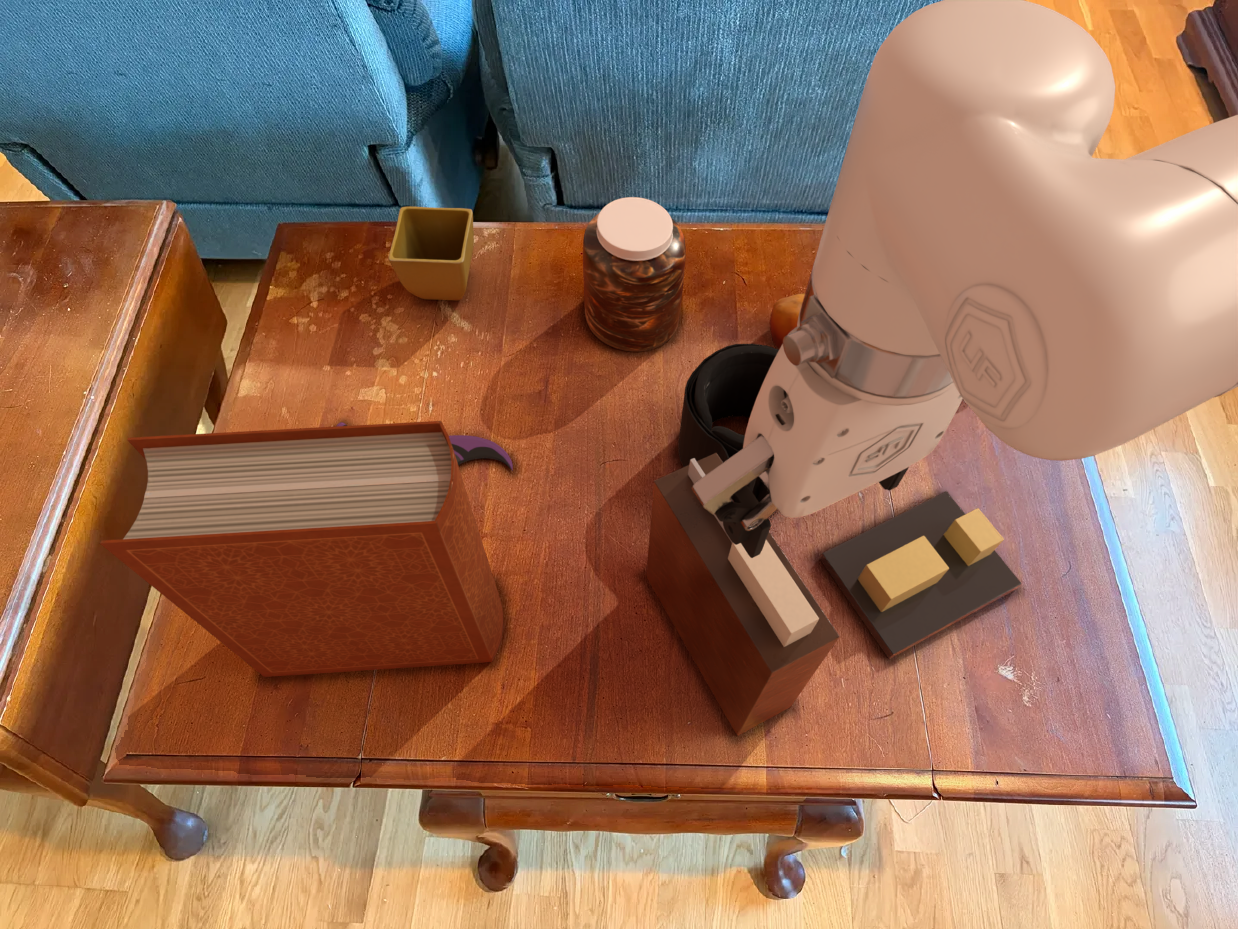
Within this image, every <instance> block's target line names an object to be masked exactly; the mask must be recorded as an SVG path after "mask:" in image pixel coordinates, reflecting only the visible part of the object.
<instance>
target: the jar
mask: <svg viewBox="0 0 1238 929" xmlns="http://www.w3.org/2000/svg"><path fill="white" fill-rule="evenodd" d="M686 249H687V248H686V239H685V235H684V232H683V230H682V229H681V227H680V225H679V224H678V223H677V222H676V220H674V218H673V217H671V215H670V213H669V212H668V210H666V209H665V208H664V207H663V206H662V205H660V204H658V203H657V202H655V201H653V200H651V199H648V198H645V197H638V196H637V197H636V196H630V197H628V196H627V197H621V198H618V199H615V200H613V201H611V202H609V203H607V204H606V205H605V206H603V207H602V209H601V210H600V212H598V213H597V214H595V216H594V217H593V218H592V219H591V220H590V221H589V222H588V224H587V226H586V228H585V230H584V233H583V238H582V276H583V277H582V278H583V299H584V300H583V301H584V314H585V315H584V316H585V321H586V323H587V326H588V328H589V330H590V331H591V333H592V334H593V335H594V336H595V337H596V339H598V340H599V341H601V342H602V343H604V344H605V345H607V346H609V347H611V348H613V349H615V350H619V351H623V352H632V353H633V352H647V351H651V350H654V349H656V348H658V347H661V346H662V345H664V344H666V343H667V342H668V341H670V339H671V338H672V337H673V336H674V335H675V333H676V332H677V330H678V327H679V324H680V318H681V312H682V303H683V302H682V301H683V290H684V281H685V269H686V251H687V250H686Z"/></svg>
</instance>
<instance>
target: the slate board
mask: <svg viewBox="0 0 1238 929" xmlns="http://www.w3.org/2000/svg"><path fill="white" fill-rule="evenodd" d="M965 514H966V513H965V512H964V510H963V509H962V508H961V507H960V505H958V503H957V501H955V499H954V498H953V497H952V496H951V494H950V493H949V492H948V491H947V490H946V491H943V492H942V493H940V494H939V493H938V494H937V495H935V496H933V497H931V498H929V499H927V500H925V501H923V502H922V503H919V504H917V505H915V506H913V507H912V508H909V509H907V510H906V511H903V512H902V513H899V514H897V515H896V516H894V517H892V518H890V519H888V520H885V521H884V522H883V521H882V523H879V524H877V525H875V526H873V527H871V528H870V529H868V530H865V531H863V532H862V533H859V534H857V535H856V536H854V537H852V538H850V539H848V540H845V541H844V542H841V543H839V544H837V545H836V546H834V547H832V548H829V549H827V550H825V551H824V552H822V554H821V555H820V557H819V560H820V562H821V563H822V565H823V566H824V568H825V569H826V571H827V572H828V573H829V575H830V576H831V578H832V579H833V581H834V582H835V584H836V585H837V586H838V588H839V589H840V592H842V594H843V595H844V597H845V598H846V599H847V601H848V602H849V604H850V605H851V607H852V608H853V609H854V611H855V612H856V613H857V615H858V617H859V618H860V620H861V621H862V622H863V624H864V626H865V627H866V629H867V630H868V632H870V634H871V635H872V637H873V639H875V641H876V642H877V645H879V648H881V650H882V652H883V653H884V654H885V656H886V657H887V658H888V659H889V660H891V659H892V658H894V657H895V656H898V655H900V654H901V653H904V651H907V650H909V649H910V648H912V647H914V646H916V645H918V644H919V643H921V642H923V641H925V640H926V639H928V638H930V637H932V636H934V635H936V634H938V633H940V632H941V631H943V630H945V629H947V628H948V627H950V626H952V625H954V624H956V623H957V622H959V621H961V620H963V619H965V618H966V617H968V616H970V615H972V614H974V613H976V612H978V611H980V610H981V609H983V608H985V607H986V606H988V605H990V604H992V603H994V602H996V601H998V600H1000V599H1001V598H1003V597H1005V596H1007V595H1008V594H1010V593H1012V592H1014V591H1016V590H1017V589H1018V588H1020V587H1021V585H1022V582H1021V581H1020V579H1019V578H1018V577H1017V576H1016V574H1015V573H1014V572H1013V571H1012V570H1011V568H1010V567H1009V566H1008V565H1007V564H1006V562H1005V561H1004V560H1003V558H1002V557H1001V556H1000V554H999V553H998V552H997V551H996V549H995V550H994V551H993V552H992V553H991V554H990V555H988V556H986V557H984V558H983V559H981V560H979V561H977V562H975V563H973V564H971V565H969V566H968V565H967V564H966V563H965V562H964V560H963V559H962V558H961V557H960V555H959V554H958V553H957V551H956V550H955V549H954V548H953V546H952V545H951V544H950V543H949V541H948V540H947V539H946V538H945V536H944V533H945V532H946V531H947V530H948V528H949V527H950V526H951V524H952V523H953V522H954V520H955V519H957V518H959V517H961V516H963V515H965ZM922 536H925V537H926V539H927V540H928V541H929V543H930V544H931V545H932V547H933V548H934V549H935V550H936V552H937V553H938V554H939V556H940V557H941V558H942V559H943V561H944V562H945V563H946V565H947V566H948V567H949V569H948V571H947V572H946V573H945V574H944V575H943V576H942V578H941V579H940V580H939V581H938V582H937V583H935V584H933V585H932V586H930V587H928V588H926V589H924V590H922V591H920V592H918V593H917V594H915V595H913V596H911V597H909V598H907V599H905V600H903V601H902V602H900V603H898V604H896V605H894V606H892V607H890V608H888V609H887V610H885V611H883V612H881V611H880V610H879V609H878V607H877V606H876V604H875V603H874V602H873V600H872V599H871V597H870V596H869V594H868V593H867V592H866V590H865V589H864V587H863V586H862V585H861V583H860V582H859V580H858V577H859V576H860V574H861V573H862V571H863V570H864V568H865V567H866V565H867V564H869V563H871V562H873V561H875V560H877V559H879V558H881V557H883V556H885V555H887V554H889V553H891V552H893V551H895V550H897V549H898V548H900V547H902V546H904V545H906V544H908V543H910V542H912V541H914V540H916V539H918V538H920V537H922Z"/></svg>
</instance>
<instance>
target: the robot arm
mask: <svg viewBox="0 0 1238 929" xmlns="http://www.w3.org/2000/svg"><path fill="white" fill-rule="evenodd" d="M1115 96H1116V82H1115V77H1114V73H1113V67H1112V64H1111V62H1110V60H1109V58H1108V56H1107V54H1106V53H1105V51H1104V49H1102V47H1101V46H1100V44H1099V43H1098V42H1097V41H1096V39H1095V38H1094V37H1093V36H1092V35H1091V34H1090V33H1089V32H1088V31H1087V30H1085V29H1084V27H1082V26H1081V25H1080V24H1078V23H1077V22H1075V21H1074V20H1072V19H1071V18H1069V17H1068V16H1066V15H1064V14H1062V13H1060V12H1058V11H1056V10H1054V9H1052V8H1050V7H1046V6H1044V5H1041V4H1039V3H1035V2H1031V1H1028V0H940V1H937V2H934V3H930V4H927V5H925V6H923V7H922V8H919V9H917V10H916V11H913V12H912V13H911V14H910V15H908V16H907V17H906V18H904V20H902V21H901V22H900V23H898V24H897V25H895V27H894V28H893V29H892V31H891V32H890V33H889V34H888V35H887V36H886V38H885V39H884V41H883V42H882V43H881V45H880V46H879V48H878V50H877V51H876V54H875V55H874V57H873V60H872V64H871V66H870V69H869V72H868V74H867V78H866V81H865V84H864V87H863V90H862V94H861V97H860V101H859V105H858V108H857V111H856V115H855V118H854V122H853V125H852V129H851V133H850V136H849V138H848V139H849V140H848V143H847V147H846V150H845V154H844V157H843V161H842V164H841V168H840V171H839V175H838V179H837V182H836V185H835V189H834V192H833V194H832V199H831V202H830V206H829V209H828V213H827V216H826V219H825V223H824V227H823V230H822V233H821V237H820V241H819V244H818V248H817V251H816V255H815V258H814V261H813V264H812V269H811V270H810V274H809V278H808V282H807V284H806V289H805V292H804V293H805V295H804V299H803V302H802V306H801V309H800V313H799V317H798V322H797V327H796V328H794V329H793V330H792V331H791V332H790V333H789V334H788V335H787V336H785V337H784V339H783V344H782V346H781V348H780V349H779V351H778V353H777V355H776V357H775V359H774V361H773V363H772V365H771V367H770V369H769V371H768V373H767V375H766V377H765V380H764V382H763V384H762V386H761V389H760V391H759V394H758V396H757V398H756V401H755V404H754V407H753V410H752V412H751V415H750V418H748V423H747V426H746V429H745V433H744V436H745V438H744V444H743V449H742V450H740V451H739V452H738V453H736V454H735V455H733V456H732V457H731V458H729V459H728V460H726V461H725V462H724V463H722V464H721V465H719V466H718V467H717V468H715V469H714V470H712V471H711V472H710V473H708V474H707V475H705V476H704V477H703V478H701V479H700V480H698V481H697V482H696V483H695V484H694V485H693V486H692V490H693V492H694V493H695V495H696V496H697V498H698V499H699V501H700V502H701V504H702V506H703V507H704V508H705V509H706V510H707V511H709V512H710V513H711V514H714V515H716V516H717V518H718V519H719V521H721V522H723V526H724V529H725V531H726V533H727V535H728V536H729V538H730V540H731V541H732V542H733V543H734V544H735V545H737V544H739V543H741V544H742V546H743V547H744V549H745V550H746V552H747V554H748V555H749V556H750V557H751V558H754V557H756V556H758V555H760V553H761V551H762V549H763V547H764V544H765V541H766V538H767V536H768V533H769V532H770V531H771V527H772V524H771V521H770V519H769V518H770V517H771V516H772V515H773V514H774V513H775V512H776V511H778V512H779V513H780V514H781V515H782V516H783V517H786V518H790V519H795V518H796V519H799V518H803V517H807V516H810V515H812V514H814V513H817V512H819V511H821V510H824V509H826V508H828V507H831V506H833V505H834V504H837V503H838V502H841V501H843V500H845V499H847V498H849V497H851V496H853V495H855V494H858V493H859V492H861V491H864V490H866V489H868V488H869V487H873V485H876V484H878V483H879V485H880V486H881V488H882V489H883V490H884V491H886V490H887V491H892V490H894V489H896V488H898V487H899V484H900V483H901V482H902V480H903V478H904V477H905V475H906V473H907V472H908V470H909V468H910V467H912V466H913V465H915V464H917V463H919V462H920V461H922V460H924V458H926V457H928V456H929V455H930V454H931V453H932V452H933V451H934V450H935V449H936V448H937V446H938V445H939V443H940V442H941V440H942V438H943V437H944V435H945V434H946V431H947V430H948V428H949V426H950V424H951V422H952V421H953V419H954V417H955V415H956V413H957V411H958V409H959V407H960V406H961V403H962V401H964V403H965V404H966V405H967V406H968V407H969V409H970V410H972V412H973V414H975V416H976V417H977V418H978V419H979V421H980V422H981V423H982V425H984V427H985V428H986V429H987V430H988V431H990V433H992V434H993V435H994V436H995V437H996V438H997V439H998V440H1000V441H1001V442H1003V443H1004V444H1005V445H1006V446H1008V447H1010V448H1012V449H1014V450H1015V451H1018V452H1020V453H1022V454H1023V455H1026V456H1030V457H1032V458H1037V459H1041V460H1048V461H1059V462H1062V461H1073V460H1074V461H1075V460H1082V459H1086V458H1091V457H1094V456H1097V455H1099V454H1102V453H1105V452H1108V451H1111V450H1113V449H1116V448H1118V447H1120V446H1123V445H1125V444H1127V443H1130V442H1131V441H1133V440H1135V439H1137V438H1139V437H1141V436H1143V435H1145V434H1147V433H1149V432H1151V431H1152V430H1154V429H1156V428H1158V427H1160V426H1162V425H1164V424H1166V423H1169V422H1170V421H1172V420H1173V419H1175V418H1177V417H1179V416H1182V415H1183V414H1185V413H1187V412H1189V411H1190V410H1193V409H1194V408H1196V407H1198V406H1200V405H1202V404H1204V403H1206V402H1208V401H1210V400H1212V399H1214V398H1217V397H1220V396H1223V395H1225V394H1226V393H1229V392H1230V391H1232V390H1234V389H1236V388H1238V114H1235V115H1233V116H1230V117H1227V118H1224V119H1221V120H1219V121H1218V120H1217V121H1215V122H1213V123H1210V124H1207V125H1204V126H1202V127H1200V128H1197V129H1194V130H1192V131H1189V132H1187V133H1184V134H1182V135H1179V136H1177V137H1175V138H1172V139H1170V140H1167V141H1165V142H1163V143H1161V144H1158V145H1156V146H1153V147H1151V148H1149V149H1147V150H1143V151H1142V152H1139V153H1137V154H1134V155H1132V156H1129V157H1127V158H1124V159H1123V158H1103V157H1102V158H1099V157H1093V155H1094V154H1095V151H1096V150H1097V147H1098V146H1099V145H1100V142H1101V140H1102V138H1103V136H1104V134H1105V132H1106V130H1107V128H1108V126H1109V124H1110V121H1111V118H1112V115H1113V112H1114V108H1115ZM757 477H759V478H760V480H761V481H762V483H763V484H764V485H765V487H766V488H767V490H768V491H769V494H768V495H767V496H766V497H765V498H764V499H763V500H761V501H760V502H758V500H757V499H756V497H755V496H754V494H753V493H752V491H751V490H750V488H749V487H748V486H747V485H748V484H749V483H750V482H751V481H752V480H754V479H755V478H757Z"/></svg>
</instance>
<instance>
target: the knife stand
mask: <svg viewBox="0 0 1238 929" xmlns="http://www.w3.org/2000/svg"><path fill="white" fill-rule="evenodd" d="M697 463H698V464H699V466H700V467H701V469H702V471H703V472H704V474H705V475H707V474H708V473H710V472H711V471H712V470H714V469H715V468H717V467H718V466H719V465H721V464H722V463H723V462H722V460H721V459H720V457H719V456H718V454H717V453H714V454H712V455H710V456H708V457H706V458H703V459H701V460H699V461H697ZM688 471H689V465H688V466H686V467H683V466H682V468H679V469H677V470H675V471H672V472H670V473H668V474H666V475H664V476H662V477H660V478H657V479H655V480H653V488H652V501H651V513H650V523H649V524H650V525H649V536H648V548H647V559H646V560H647V561H646V572H645V578H646V579H647V581H648V583H649V585H650V586H651V588H652V590H653V592H654V593H655V595H656V597H657V599H658V600H659V602H660V604H661V606H662V607H663V609H664V611H665V613H666V614H667V616H668V618H669V620H670V622H671V623H672V625H673V627H674V629H675V630H676V632H677V634H678V635H679V637H680V639H681V641H682V643H683V644H684V646H685V648H686V649H687V651H688V653H689V655H690V656H691V658H692V660H693V661H694V664H695V666H696V667H697V668H698V670H699V672H700V674H701V676H702V678H703V679H704V681H705V683H706V684H707V686H708V687H709V689H710V691H711V693H712V695H713V697H714V698H715V700H716V702H717V703H718V705H719V707H720V708H721V711H722V713H723V714H724V716H725V717H726V719H727V721H728V723H729V724H730V727H731V728H732V730H733V731H734V734H735V735H736V736H737V737H738V736H741V735H743V734H744V733H746V732H748V731H749V730H751V729H754V728H755V727H757V726H759V725H761V724H763V723H764V722H766V721H768V720H770V719H771V718H773V717H775V716H777V715H779V714H781V713H783V712H784V711H786V710H788V709H790V708H791V707H792V706H793V704H795V702H796V700H797V699H798V697H799V696H800V694H801V693H802V692H803V690H804V689H805V687H806V686H807V684H808V683H809V681H810V680H811V679H812V678H813V676H814V674H816V671H817V670H818V669H819V667H820V666H821V664H822V663H823V661H824V660H825V659H826V657H827V656H828V654H829V653H830V652H831V650H832V648H833V647H834V646H835V644H836V643H837V641H838V640H839V639H840V637H841V636H840V634H839V632H838V631H837V629H836V628H835V627H834V626H833V624H832V622H831V620H830V619H829V618H828V616H827V615H826V613H825V611H824V610H823V609H822V607H821V606H820V605H819V603H818V601H817V600H816V598H815V597H814V595H813V593H811V591H810V590H809V588H808V586H807V585H806V584H805V582H804V581H803V579H802V577H801V576H800V574H799V573H798V572H797V570H796V568H795V567H794V566H793V564H792V562H791V561H790V560H789V558H788V557H787V555H786V553H785V552H784V551H783V549H782V548H781V547H780V544H778V542H777V540H776V539H775V538H774V536H773V535H772V533H771V532H770V531H769V533H768V536H767V538H766V540H767V542H768V543H769V545H770V546H771V548H772V549H773V551H774V552H775V554H776V555H777V557H778V558H779V560H780V561H781V563H782V564H783V565H784V567H785V568H786V570H787V571H788V573H789V574H790V576H791V577H792V579H793V580H794V582H795V583H796V585H797V586H798V588H799V589H800V591H801V592H802V594H803V595H804V597H805V598H806V600H807V601H808V603H809V604H810V606H811V607H812V609H813V610H814V612H815V613H816V615H817V616H818V618H819V620H818V622H817V623H816V625H815V627H814V628H813V630H812V632H811V633H810V634H808V635H806V636H804V637H802V638H800V639H799V640H797V641H795V642H793V643H791V644H789V645H787V646H785V647H784V646H783V645H782V643H781V642H780V640H779V639H778V637H777V635H776V634H775V632H774V631H773V629H772V628H771V626H770V624H769V623H768V621H767V620H766V618H765V617H764V615H763V613H762V612H761V610H760V609H759V607H758V606H757V604H756V602H755V601H754V599H753V598H752V596H751V595H750V593H749V591H748V590H747V588H746V587H745V585H744V583H743V582H742V580H741V579H740V577H739V576H738V574H737V572H736V571H735V569H734V568H733V566H732V565H731V563H730V561H729V560H728V556H729V553H730V549H731V546H732V542H731V541H730V539H729V537H728V536H727V534H726V533H725V531H724V530H723V528H722V527H721V525H720V524H719V522H718V520H717V519H716V517H715V516H714V514H711V513H710V512H709V511H707V510H706V509H705V508H704V507H703V506H702V504H701V502H700V501H699V499H698V498H697V496H696V495H695V493H694V492H693V490H692V486H693V485H694V483H693V482H692V480H691V479H690V477H689V475H688Z"/></svg>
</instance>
